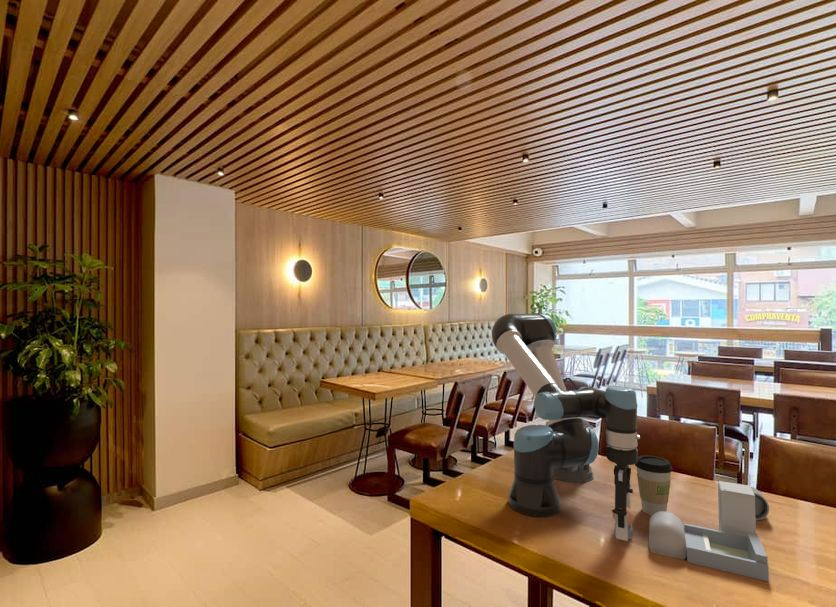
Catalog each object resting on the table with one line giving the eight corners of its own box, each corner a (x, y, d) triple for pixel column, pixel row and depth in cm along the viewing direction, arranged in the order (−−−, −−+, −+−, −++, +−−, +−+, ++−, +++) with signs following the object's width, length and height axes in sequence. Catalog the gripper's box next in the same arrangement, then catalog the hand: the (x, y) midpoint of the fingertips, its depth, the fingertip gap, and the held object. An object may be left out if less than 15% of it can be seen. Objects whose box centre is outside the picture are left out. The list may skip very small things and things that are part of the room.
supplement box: (756, 546, 105) (755, 495, 106) (720, 538, 109) (719, 489, 110) (752, 533, 112) (751, 485, 112) (718, 525, 116) (717, 479, 116)
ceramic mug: (763, 511, 124) (762, 484, 124) (770, 523, 117) (768, 495, 117) (719, 503, 129) (718, 478, 129) (723, 515, 122) (722, 488, 122)
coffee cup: (679, 520, 118) (678, 467, 119) (641, 517, 120) (640, 465, 121) (666, 505, 128) (665, 455, 128) (631, 502, 130) (630, 453, 130)
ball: (612, 527, 111) (611, 508, 111) (613, 518, 115) (613, 500, 115) (633, 531, 108) (633, 512, 108) (634, 523, 113) (633, 504, 113)
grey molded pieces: (613, 551, 107) (612, 520, 107) (617, 529, 118) (616, 500, 118) (768, 591, 92) (768, 554, 92) (757, 560, 103) (756, 527, 103)
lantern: (536, 473, 154) (535, 377, 154) (559, 462, 165) (558, 372, 166) (581, 487, 141) (579, 383, 142) (602, 473, 153) (600, 377, 153)
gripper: (635, 462, 100) (637, 554, 99) (639, 435, 121) (641, 511, 120) (601, 457, 103) (603, 546, 103) (610, 432, 125) (612, 505, 124)
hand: (623, 527), depth 112 cm, fingers open, 12 cm apart
